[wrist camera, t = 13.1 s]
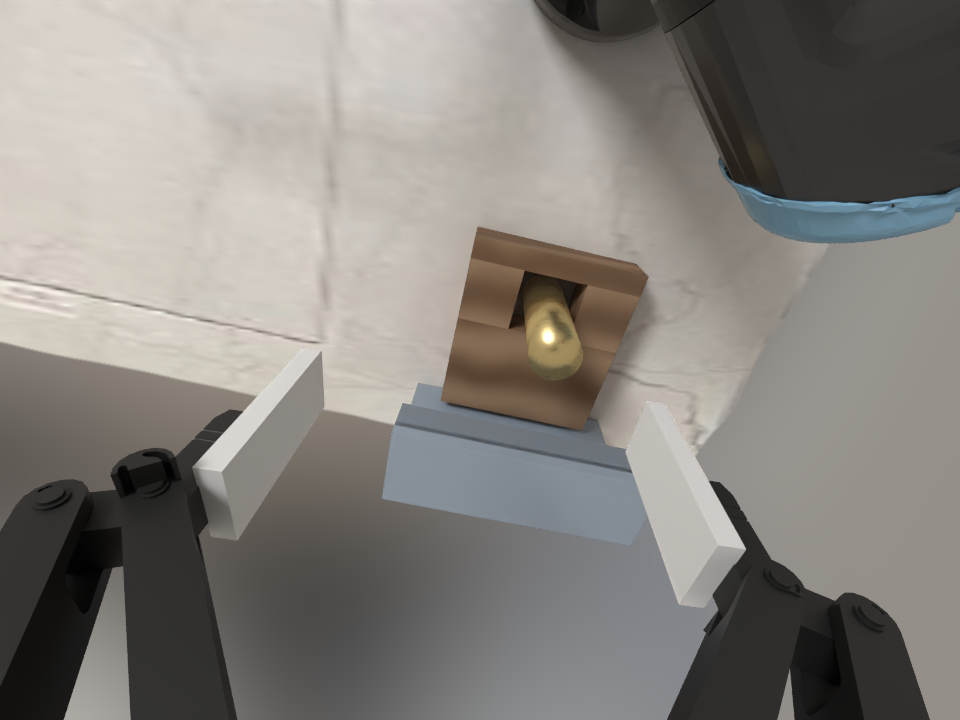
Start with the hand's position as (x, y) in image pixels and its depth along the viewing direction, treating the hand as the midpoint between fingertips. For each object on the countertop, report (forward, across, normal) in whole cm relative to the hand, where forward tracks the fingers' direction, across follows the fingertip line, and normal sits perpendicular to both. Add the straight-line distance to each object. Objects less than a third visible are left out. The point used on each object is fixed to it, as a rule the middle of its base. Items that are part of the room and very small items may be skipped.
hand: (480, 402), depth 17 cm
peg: (+27, +5, -5) cm, 28 cm away
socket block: (+27, +5, -9) cm, 29 cm away
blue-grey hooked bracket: (+27, +5, -16) cm, 32 cm away
